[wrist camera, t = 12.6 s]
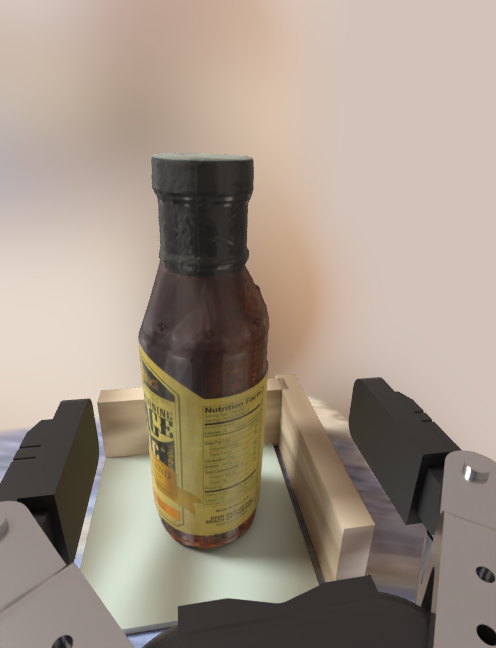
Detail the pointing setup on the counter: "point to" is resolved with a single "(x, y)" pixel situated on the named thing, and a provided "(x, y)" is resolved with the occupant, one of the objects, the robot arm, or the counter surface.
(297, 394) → the beige l-shaped piece
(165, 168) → the sauce bottle
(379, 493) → the counter surface
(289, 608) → the robot arm
